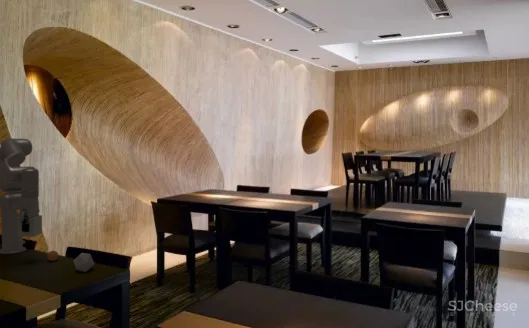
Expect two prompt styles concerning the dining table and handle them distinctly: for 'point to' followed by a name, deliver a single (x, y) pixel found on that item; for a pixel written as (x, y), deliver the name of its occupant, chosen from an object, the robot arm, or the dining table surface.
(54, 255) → the ball
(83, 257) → the die
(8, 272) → the dining table surface
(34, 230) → the grey block
